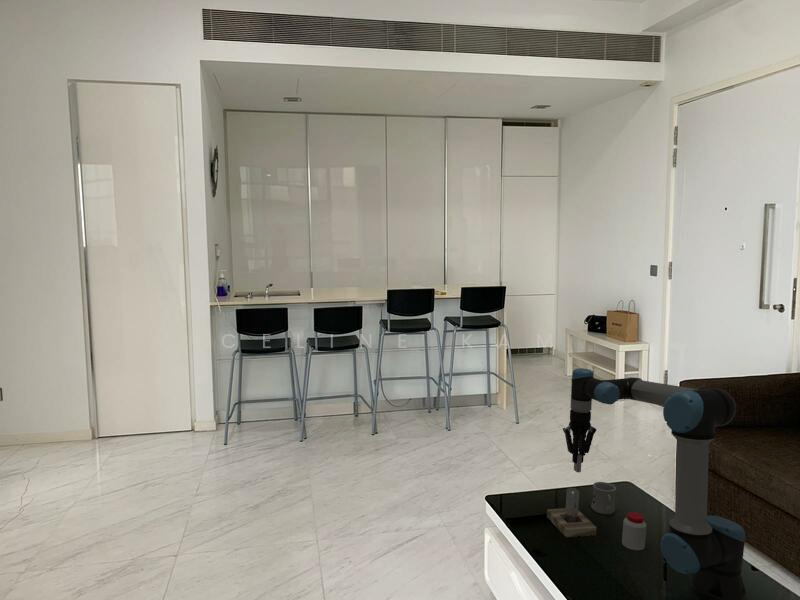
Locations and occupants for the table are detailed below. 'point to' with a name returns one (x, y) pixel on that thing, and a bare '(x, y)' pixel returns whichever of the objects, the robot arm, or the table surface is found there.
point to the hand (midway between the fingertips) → (577, 470)
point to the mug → (603, 498)
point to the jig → (571, 524)
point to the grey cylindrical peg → (572, 505)
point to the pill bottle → (634, 531)
